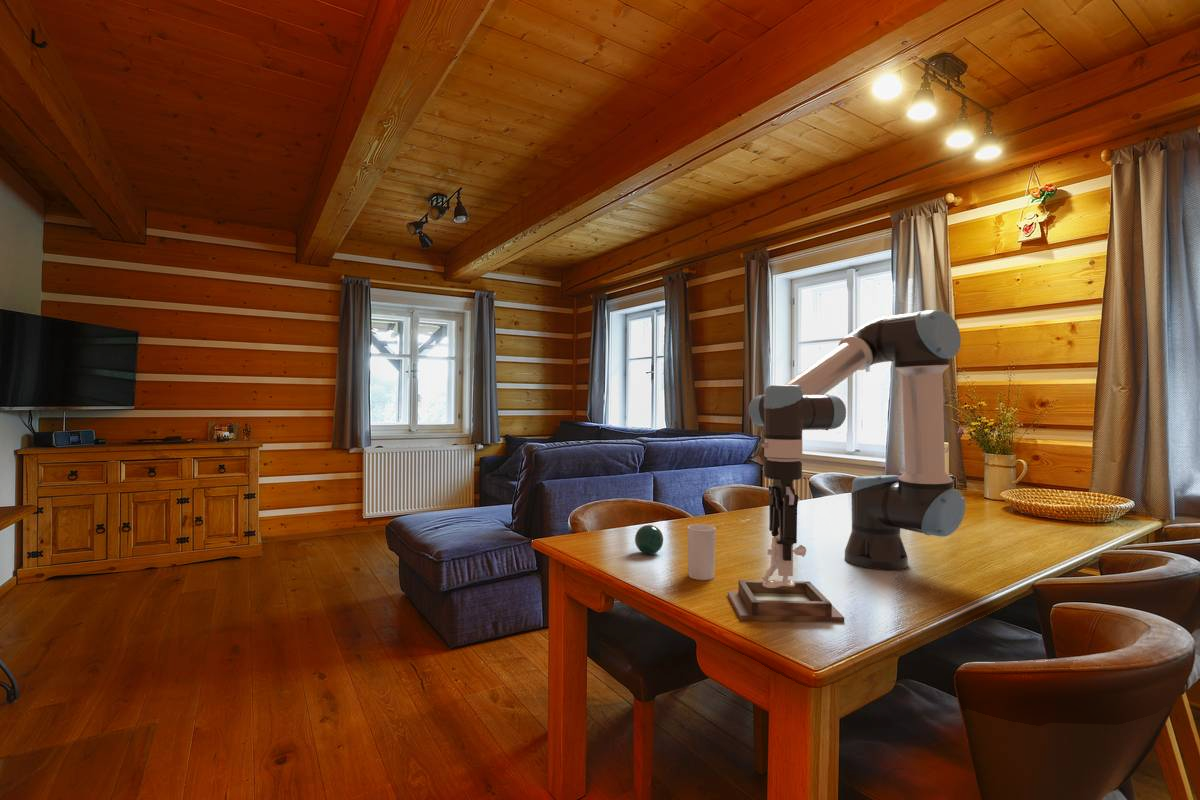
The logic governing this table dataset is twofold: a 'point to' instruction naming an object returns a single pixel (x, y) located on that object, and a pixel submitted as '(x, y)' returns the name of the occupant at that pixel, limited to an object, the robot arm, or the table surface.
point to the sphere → (649, 539)
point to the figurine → (774, 562)
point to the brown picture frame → (782, 603)
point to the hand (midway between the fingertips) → (782, 571)
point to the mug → (701, 551)
